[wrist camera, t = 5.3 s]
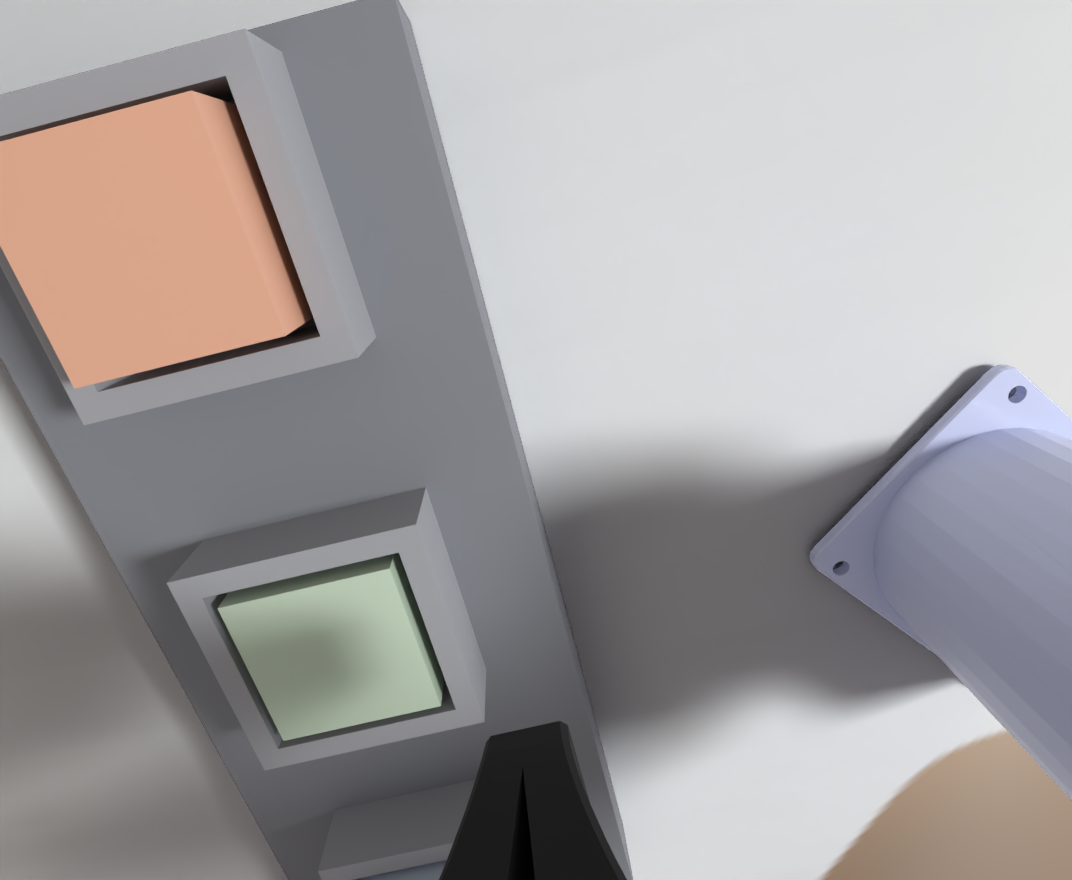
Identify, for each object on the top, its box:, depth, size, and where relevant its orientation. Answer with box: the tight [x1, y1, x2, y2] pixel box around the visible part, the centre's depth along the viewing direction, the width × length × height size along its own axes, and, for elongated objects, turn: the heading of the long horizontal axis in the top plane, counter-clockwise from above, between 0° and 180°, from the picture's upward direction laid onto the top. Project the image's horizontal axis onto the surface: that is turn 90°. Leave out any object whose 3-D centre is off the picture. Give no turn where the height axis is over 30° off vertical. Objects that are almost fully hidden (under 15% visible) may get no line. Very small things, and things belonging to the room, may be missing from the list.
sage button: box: [217, 553, 444, 741], centre depth 17 cm, size 4×4×2 cm
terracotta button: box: [0, 90, 313, 389], centre depth 13 cm, size 4×4×2 cm
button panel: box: [0, 0, 633, 880], centre depth 18 cm, size 27×11×4 cm, turn 13°
